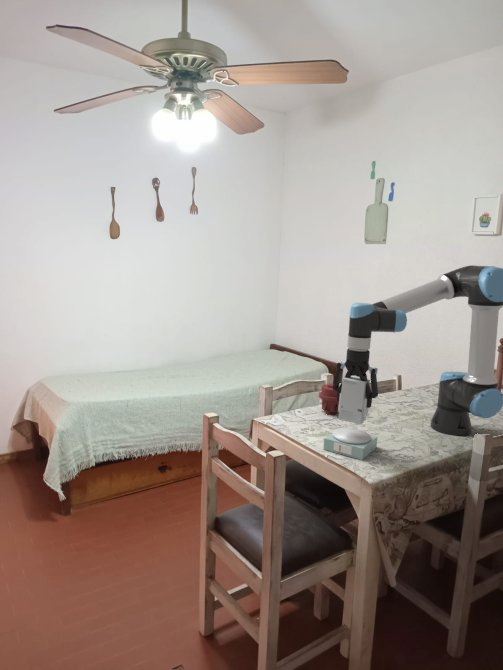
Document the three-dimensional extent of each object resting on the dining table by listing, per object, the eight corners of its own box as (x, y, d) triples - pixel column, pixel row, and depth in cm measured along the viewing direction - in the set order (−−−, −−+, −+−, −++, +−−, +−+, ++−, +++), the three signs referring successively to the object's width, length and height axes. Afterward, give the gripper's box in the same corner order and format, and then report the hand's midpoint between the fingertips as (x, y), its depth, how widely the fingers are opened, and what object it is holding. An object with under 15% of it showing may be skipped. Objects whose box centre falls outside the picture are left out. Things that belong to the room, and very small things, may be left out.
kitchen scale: (376, 447, 173) (377, 433, 172) (361, 460, 161) (362, 446, 160) (339, 437, 181) (340, 424, 180) (322, 449, 169) (323, 436, 168)
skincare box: (338, 420, 169) (340, 378, 166) (344, 415, 174) (346, 374, 172) (361, 424, 165) (364, 381, 162) (367, 420, 170) (370, 378, 167)
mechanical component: (316, 408, 213) (338, 409, 214) (320, 416, 203) (343, 417, 204) (318, 381, 211) (341, 381, 212) (322, 387, 201) (346, 388, 202)
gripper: (392, 352, 163) (386, 417, 166) (334, 343, 174) (329, 404, 178) (385, 355, 156) (378, 423, 160) (325, 345, 168) (320, 409, 171)
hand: (352, 413), depth 169 cm, fingers closed on skincare box, 8 cm apart
